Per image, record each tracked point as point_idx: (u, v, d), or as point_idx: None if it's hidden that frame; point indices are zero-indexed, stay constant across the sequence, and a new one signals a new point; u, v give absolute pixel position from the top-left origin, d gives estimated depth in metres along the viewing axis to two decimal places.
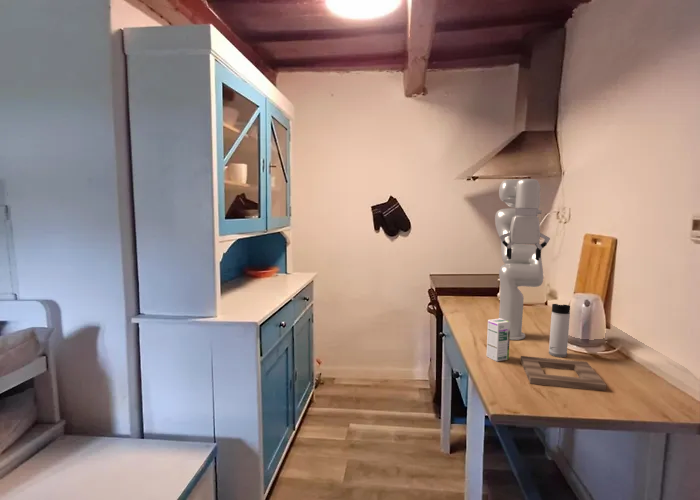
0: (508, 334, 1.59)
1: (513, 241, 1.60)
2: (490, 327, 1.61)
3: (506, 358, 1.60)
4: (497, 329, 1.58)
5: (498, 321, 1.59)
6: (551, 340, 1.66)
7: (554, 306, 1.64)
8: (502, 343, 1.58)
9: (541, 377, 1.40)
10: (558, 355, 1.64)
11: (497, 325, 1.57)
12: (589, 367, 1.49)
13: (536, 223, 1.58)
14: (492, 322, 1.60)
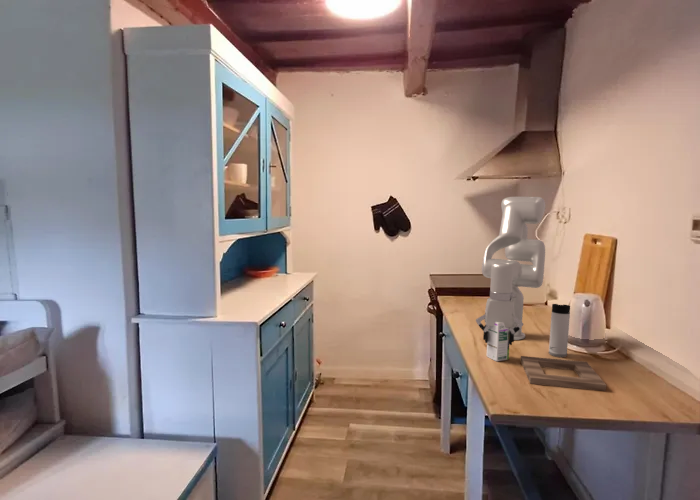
0: (508, 334, 1.59)
1: (488, 324, 1.60)
2: (490, 327, 1.61)
3: (506, 358, 1.60)
4: (497, 329, 1.58)
5: None
6: (551, 340, 1.66)
7: (554, 306, 1.64)
8: (502, 343, 1.58)
9: (541, 377, 1.40)
10: (558, 355, 1.64)
11: (497, 325, 1.57)
12: (589, 367, 1.49)
13: (510, 307, 1.57)
14: None
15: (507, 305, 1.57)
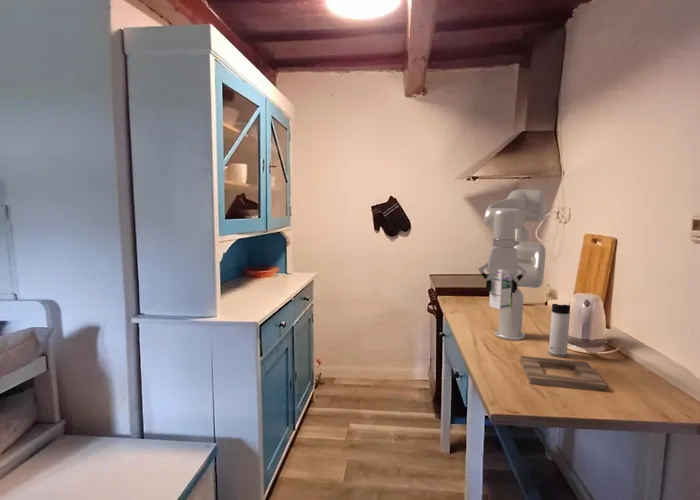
0: (511, 282, 1.57)
1: (490, 272, 1.58)
2: (493, 275, 1.59)
3: (509, 307, 1.58)
4: (500, 277, 1.56)
5: None
6: (551, 340, 1.66)
7: (554, 306, 1.64)
8: (505, 291, 1.56)
9: (541, 377, 1.40)
10: (558, 355, 1.64)
11: (500, 272, 1.55)
12: (589, 367, 1.49)
13: (513, 254, 1.55)
14: None
15: (510, 252, 1.55)
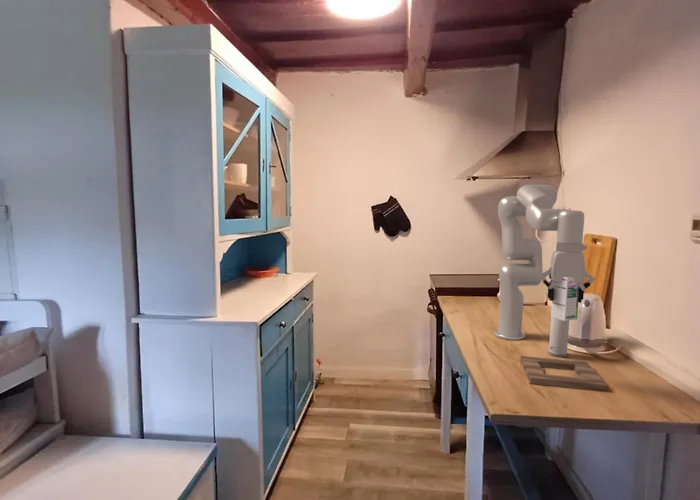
0: (577, 290, 1.42)
1: (554, 280, 1.43)
2: (556, 283, 1.44)
3: (574, 318, 1.43)
4: (566, 285, 1.41)
5: None
6: (551, 340, 1.66)
7: None
8: (570, 300, 1.41)
9: (541, 377, 1.40)
10: (558, 355, 1.64)
11: (566, 280, 1.40)
12: (589, 367, 1.49)
13: (581, 260, 1.40)
14: None
15: (577, 257, 1.40)
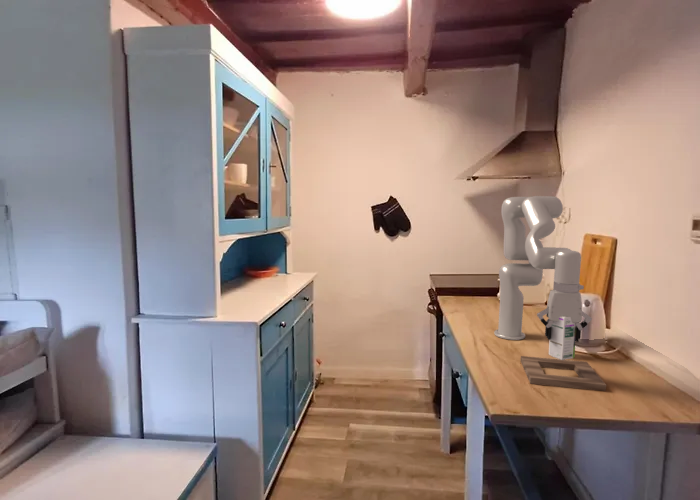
0: (574, 330, 1.44)
1: (552, 319, 1.44)
2: None
3: (572, 356, 1.44)
4: (563, 325, 1.42)
5: None
6: None
7: None
8: (568, 339, 1.43)
9: (541, 377, 1.40)
10: None
11: (563, 320, 1.42)
12: (589, 367, 1.49)
13: (578, 300, 1.41)
14: None
15: (574, 297, 1.41)
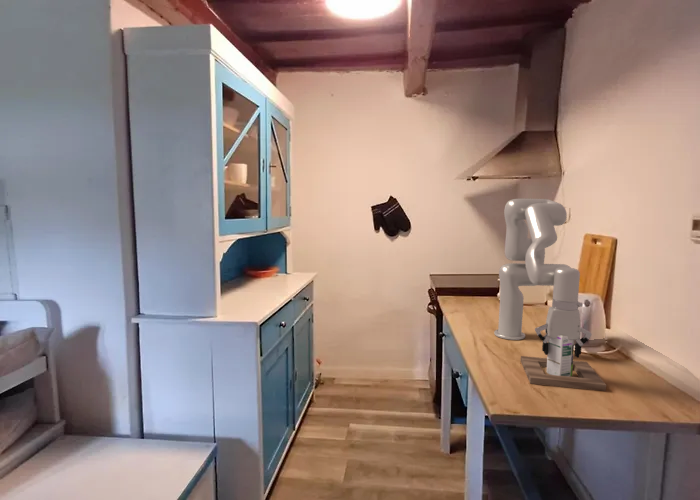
0: (572, 348, 1.45)
1: (550, 336, 1.45)
2: (551, 340, 1.46)
3: (569, 375, 1.45)
4: (560, 344, 1.43)
5: None
6: None
7: None
8: (565, 358, 1.44)
9: (541, 377, 1.40)
10: None
11: (561, 339, 1.43)
12: (589, 367, 1.49)
13: (577, 318, 1.42)
14: None
15: (573, 315, 1.42)
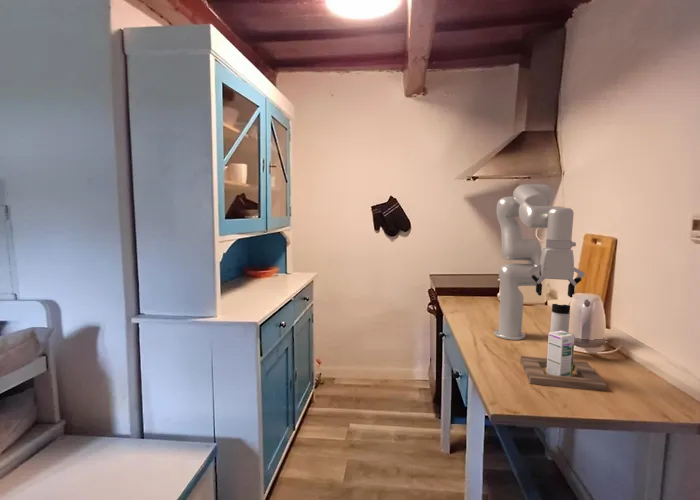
0: (572, 348, 1.45)
1: (544, 276, 1.45)
2: (551, 340, 1.46)
3: (569, 375, 1.45)
4: (560, 344, 1.43)
5: (561, 334, 1.44)
6: None
7: (554, 306, 1.64)
8: (565, 358, 1.44)
9: (541, 377, 1.40)
10: None
11: (561, 339, 1.43)
12: (589, 367, 1.49)
13: (570, 257, 1.42)
14: (554, 335, 1.45)
15: (566, 254, 1.42)
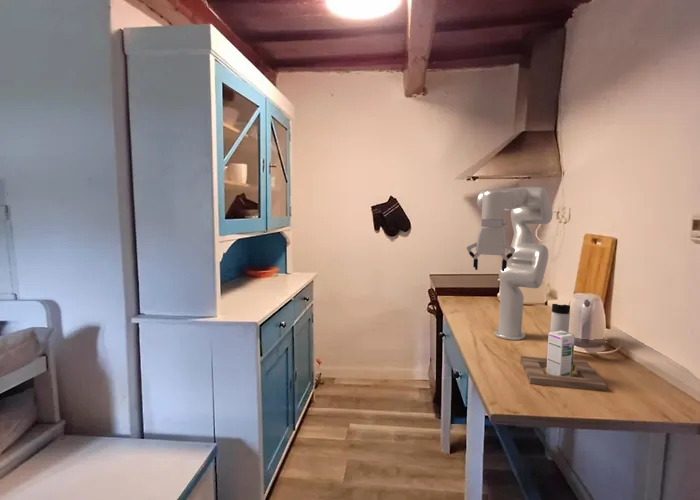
0: (572, 348, 1.45)
1: (479, 252, 1.61)
2: (551, 340, 1.46)
3: (569, 375, 1.45)
4: (560, 344, 1.43)
5: (561, 334, 1.44)
6: None
7: (554, 306, 1.64)
8: (565, 358, 1.44)
9: (541, 377, 1.40)
10: None
11: (561, 339, 1.43)
12: (589, 367, 1.49)
13: (501, 234, 1.59)
14: (554, 335, 1.45)
15: (498, 232, 1.59)
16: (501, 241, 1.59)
